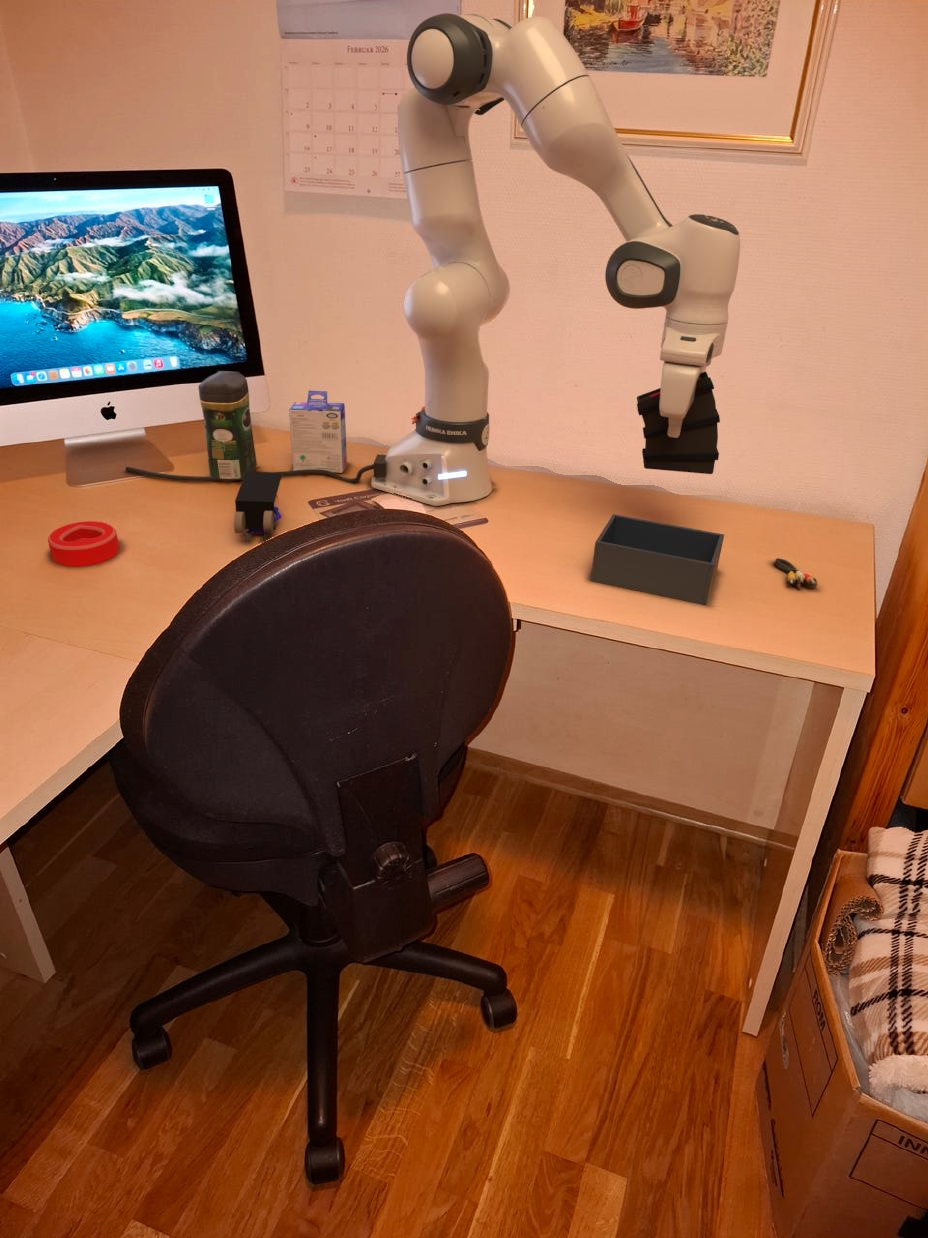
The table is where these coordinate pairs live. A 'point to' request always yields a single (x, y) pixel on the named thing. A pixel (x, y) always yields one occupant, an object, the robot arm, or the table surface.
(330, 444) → the ink cartridge box
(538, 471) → the table surface
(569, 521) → the table surface
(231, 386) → the coffee jar
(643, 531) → the box
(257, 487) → the toy wheeled vehicle
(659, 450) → the magazine
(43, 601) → the table surface
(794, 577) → the composite cable
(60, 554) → the decorative ornament
